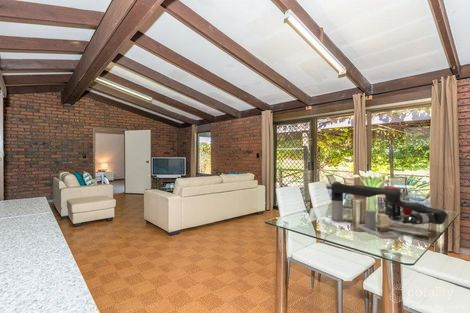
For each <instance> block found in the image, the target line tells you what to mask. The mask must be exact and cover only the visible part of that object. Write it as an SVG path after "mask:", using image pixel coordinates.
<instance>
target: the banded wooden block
mask: <svg viewBox="0 0 470 313" xmlns="http://www.w3.org/2000/svg"><path fill="white" fill-rule="evenodd" d="M389 220H390V219H389V216H388V215H386V213H378V214H376V226H377V233H378V234H381V235H389V231H390V226H389V225H390V224H389V223H390V221H389Z"/></svg>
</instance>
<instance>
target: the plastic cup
mask: <svg viewBox="0 0 470 313" xmlns="http://www.w3.org/2000/svg"><path fill="white" fill-rule="evenodd" d="M402 201H403V202H410V203H411V202H413V203H415V202H414V201H411V200H403V199H402ZM401 208H402V212H403V215H404V216H409V215H410V214H413V210H410V209H407V208H404V207H401Z"/></svg>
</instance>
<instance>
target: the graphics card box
mask: <svg viewBox="0 0 470 313" xmlns="http://www.w3.org/2000/svg"><path fill="white" fill-rule="evenodd" d="M384 188H391V189H396V190H399V191H400V192H401V189H400V188H397V187H395V186H393V185H385V186H384ZM399 200H401V198H400V199H399ZM384 202H385V203H384V204H385V215H388V216H389V218H390V219H391V220H393V217H396V216H401V207H400V206H397V205H394V204H391V203H389V202H387V201H386V195H384ZM393 221H394V220H393Z"/></svg>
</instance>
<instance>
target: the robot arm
mask: <svg viewBox="0 0 470 313" xmlns="http://www.w3.org/2000/svg"><path fill="white" fill-rule="evenodd" d="M330 189H331V190H330V191H331V221H334V220H335V222H342V221H344V194H348V195H353V196H356V197H363V198H372V197H375V196H378V195H379V196H381V195H384V196H385V195H386V201H387V202H389V203H391V204H394V205H397V206H400V208H402V207H404V208H407V209H410V210H412V212H415V213H412V214H410V215H405V214H402V215H401V216H396V217H393V221H401V222H402V224H403V225H404V224H411V225H425V224H434V225H440V226H441V225H443V224H444V223H445V221H446V219H447V218H448V213H447V212H446V211H445V210H442V209H440V208H439V209H438V208H434V207H429V206H427V205H425V204H422V203H420V202H414V201H411V203H410V202H403V200H401V194H402V193H401V190H400V191H399V190H396V189H391V188H385V187H377V186H368V185H363V184H351V185H350V184H345V183H341V182H340V181H334V182H332V183H331V187H330ZM399 199H400V200H399ZM413 202H414V203H413Z"/></svg>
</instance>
